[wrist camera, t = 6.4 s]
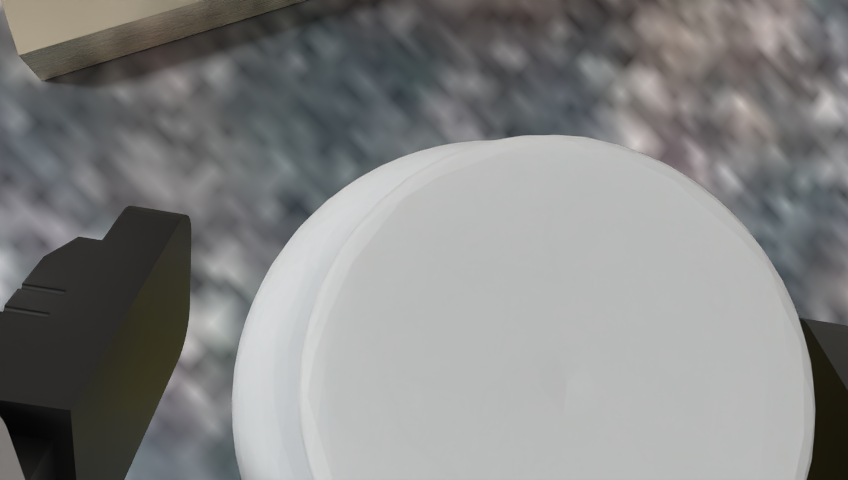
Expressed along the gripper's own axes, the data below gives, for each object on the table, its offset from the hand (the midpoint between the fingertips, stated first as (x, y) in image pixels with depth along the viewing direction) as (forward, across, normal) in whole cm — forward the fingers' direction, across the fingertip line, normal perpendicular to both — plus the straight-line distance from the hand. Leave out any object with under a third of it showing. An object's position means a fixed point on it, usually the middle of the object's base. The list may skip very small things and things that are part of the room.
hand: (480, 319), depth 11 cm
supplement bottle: (+3, 0, +5) cm, 6 cm away
